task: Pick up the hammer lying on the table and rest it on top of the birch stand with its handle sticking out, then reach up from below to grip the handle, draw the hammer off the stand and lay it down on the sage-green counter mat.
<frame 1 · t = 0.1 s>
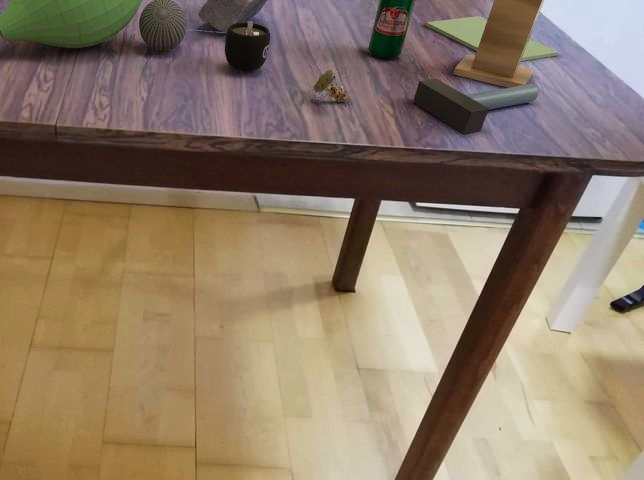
mug: (244, 62, 102), on the table
soldier figurine: (322, 80, 91), point 3 cm above the table
soda can: (383, 56, 108), on the table
mat: (489, 40, 115), on the table
lollipop: (209, 5, 102), point 6 cm above the table
hammer: (457, 114, 93), on the table
stand: (492, 75, 104), on the table
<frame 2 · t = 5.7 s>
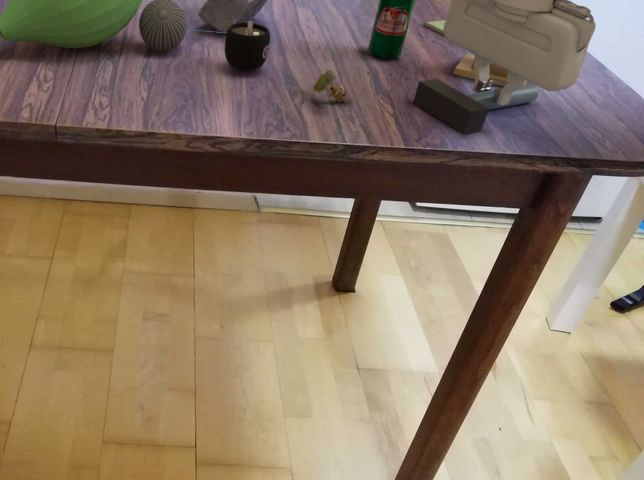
hand: (489, 97, 93), 2 cm above the table, tool pointing down, fingers closed on hammer, 2 cm apart
hammer: (457, 114, 93), on the table, touching gripper
everything else where it was.
when the fingers open (24 cm above the table, at t = 12.1 s): hammer stays where it is, resting on stand.
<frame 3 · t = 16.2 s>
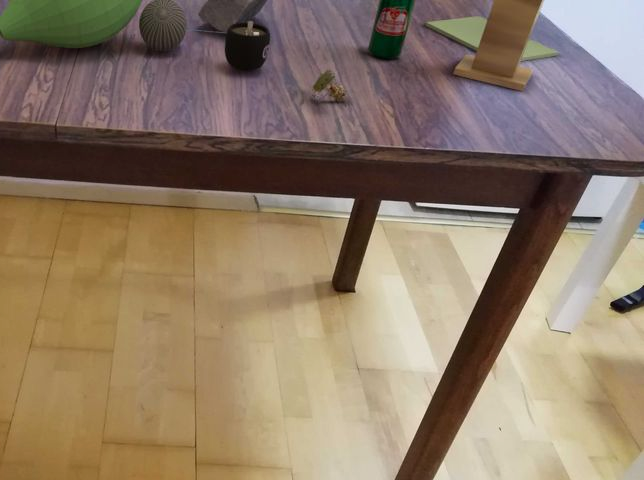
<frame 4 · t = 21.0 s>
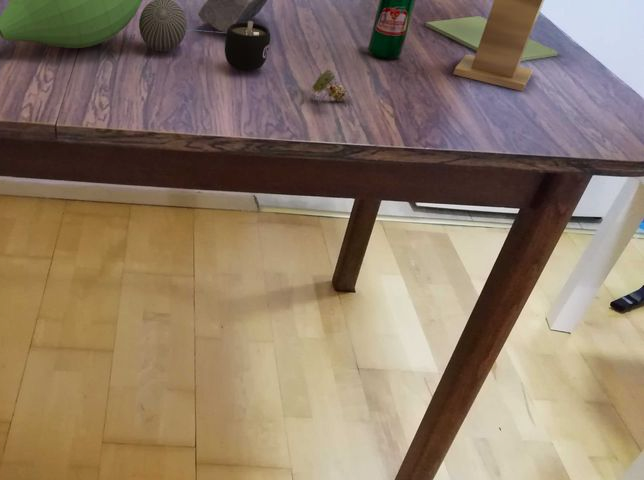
when the fingers open (7 cm above the table, at t = 29.1 s): hammer drops 2 cm, resting on mat.
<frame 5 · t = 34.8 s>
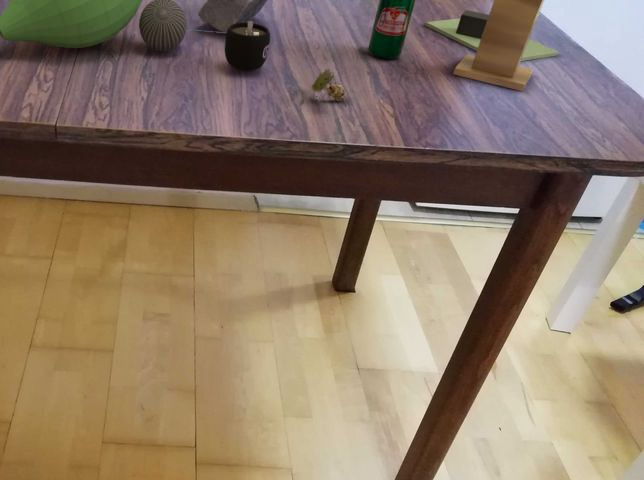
hammer: (490, 34, 116), point 1 cm above the table, touching mat
everything else where it was.
at the end: hammer moved 34.5 cm from its start; hammer 1.1 cm from the mat (horizontally); hammer point 0.6 cm above the table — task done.
